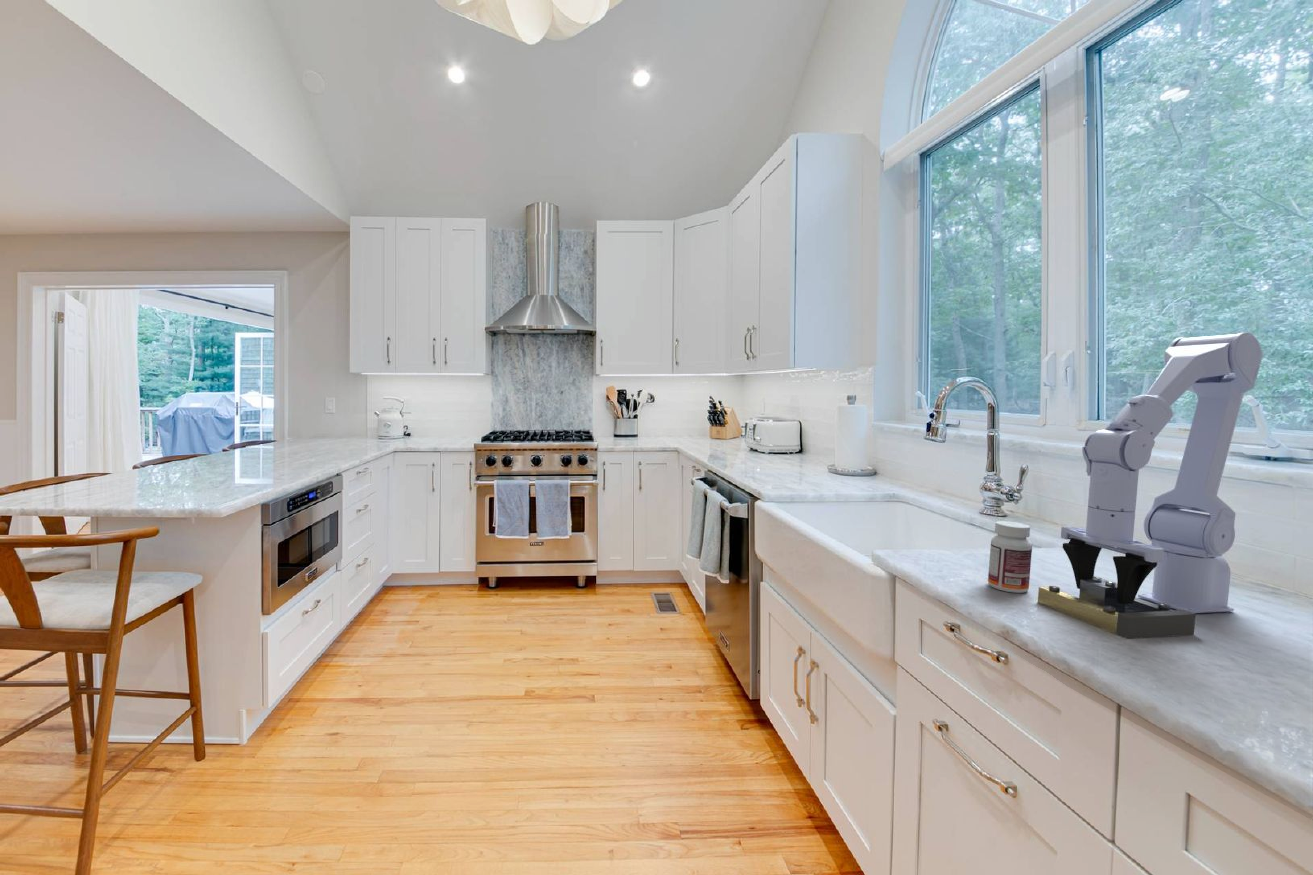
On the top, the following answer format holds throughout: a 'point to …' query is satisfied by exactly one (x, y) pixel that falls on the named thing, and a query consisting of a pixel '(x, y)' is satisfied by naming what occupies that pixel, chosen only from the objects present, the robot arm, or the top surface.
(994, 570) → the pill bottle
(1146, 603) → the steel end link
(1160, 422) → the robot arm
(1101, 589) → the grey bolted block
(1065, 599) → the brass end link
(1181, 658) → the top surface
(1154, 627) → the block
